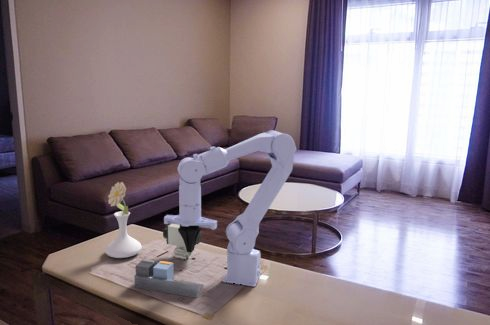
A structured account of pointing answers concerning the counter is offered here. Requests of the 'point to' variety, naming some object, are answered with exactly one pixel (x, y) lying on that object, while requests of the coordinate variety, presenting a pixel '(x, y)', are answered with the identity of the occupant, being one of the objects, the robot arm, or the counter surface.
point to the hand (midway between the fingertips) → (190, 250)
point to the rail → (163, 281)
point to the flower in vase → (121, 227)
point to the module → (164, 270)
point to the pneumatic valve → (178, 240)
